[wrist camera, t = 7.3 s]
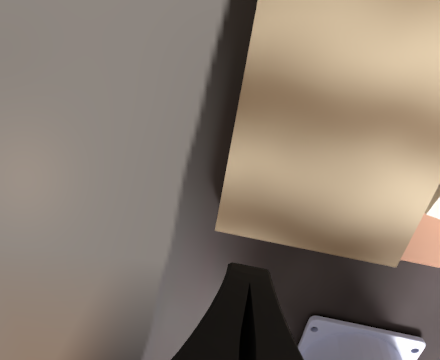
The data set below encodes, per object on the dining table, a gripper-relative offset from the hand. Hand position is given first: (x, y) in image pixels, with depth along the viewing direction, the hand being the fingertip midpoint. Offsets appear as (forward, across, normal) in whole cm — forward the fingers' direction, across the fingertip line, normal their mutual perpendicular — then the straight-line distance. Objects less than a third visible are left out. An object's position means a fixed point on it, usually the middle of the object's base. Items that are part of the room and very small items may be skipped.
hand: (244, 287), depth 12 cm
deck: (+9, -4, -4) cm, 11 cm away
